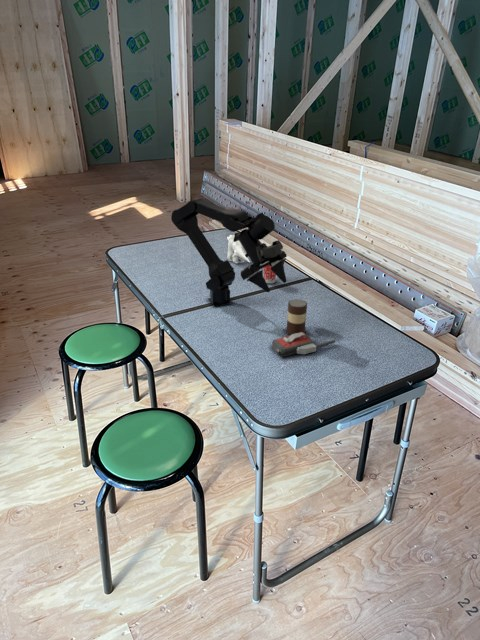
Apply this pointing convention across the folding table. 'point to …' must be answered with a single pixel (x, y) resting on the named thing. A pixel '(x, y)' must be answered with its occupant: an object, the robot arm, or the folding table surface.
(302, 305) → the coffee can
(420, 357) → the folding table surface
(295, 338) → the walkie-talkie
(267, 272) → the beverage cup
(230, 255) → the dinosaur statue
